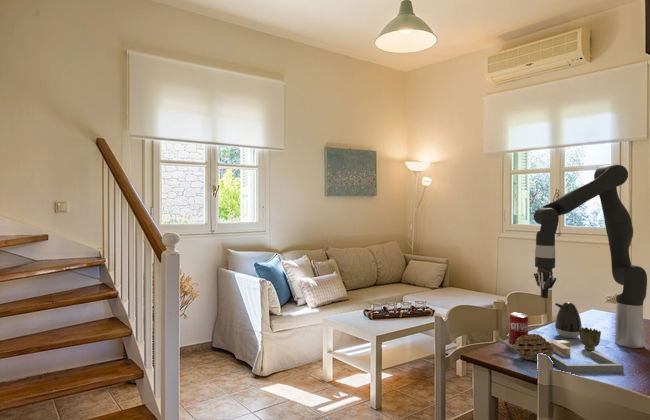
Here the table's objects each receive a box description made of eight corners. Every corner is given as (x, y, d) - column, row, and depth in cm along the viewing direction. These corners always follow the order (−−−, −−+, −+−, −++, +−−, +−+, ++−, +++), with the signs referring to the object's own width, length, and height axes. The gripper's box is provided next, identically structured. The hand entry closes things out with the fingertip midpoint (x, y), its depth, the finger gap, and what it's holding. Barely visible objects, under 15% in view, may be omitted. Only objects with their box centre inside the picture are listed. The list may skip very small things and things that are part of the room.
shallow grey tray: (594, 357, 162) (594, 351, 162) (623, 372, 147) (623, 365, 147) (543, 357, 161) (543, 351, 160) (567, 373, 146) (567, 365, 146)
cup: (593, 354, 165) (593, 333, 165) (574, 348, 172) (575, 328, 172) (604, 351, 169) (605, 331, 169) (585, 345, 175) (586, 326, 175)
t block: (565, 347, 173) (565, 340, 173) (581, 356, 163) (581, 348, 163) (536, 347, 172) (536, 340, 172) (551, 356, 162) (551, 348, 162)
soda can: (530, 347, 173) (530, 317, 172) (510, 345, 174) (511, 316, 174) (525, 341, 180) (525, 313, 180) (506, 340, 181) (507, 312, 181)
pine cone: (557, 362, 156) (558, 335, 156) (548, 369, 149) (549, 340, 149) (497, 347, 172) (498, 322, 172) (487, 353, 165) (487, 327, 165)
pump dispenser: (551, 332, 194) (552, 298, 194) (577, 334, 191) (578, 300, 191) (557, 339, 184) (558, 303, 184) (584, 341, 181) (585, 305, 181)
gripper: (563, 258, 171) (562, 301, 171) (544, 254, 184) (543, 294, 185) (545, 258, 171) (544, 301, 171) (527, 254, 184) (527, 294, 184)
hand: (544, 297), depth 178 cm, fingers closed
